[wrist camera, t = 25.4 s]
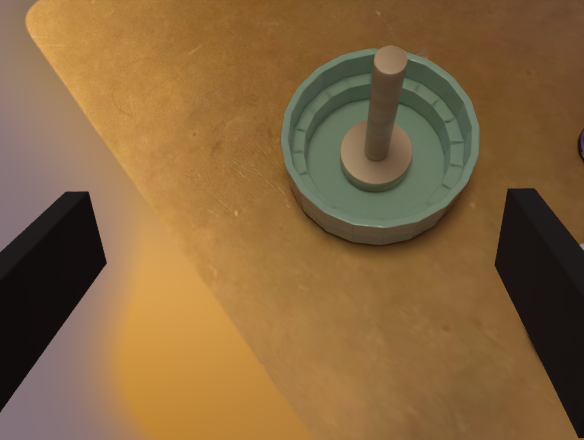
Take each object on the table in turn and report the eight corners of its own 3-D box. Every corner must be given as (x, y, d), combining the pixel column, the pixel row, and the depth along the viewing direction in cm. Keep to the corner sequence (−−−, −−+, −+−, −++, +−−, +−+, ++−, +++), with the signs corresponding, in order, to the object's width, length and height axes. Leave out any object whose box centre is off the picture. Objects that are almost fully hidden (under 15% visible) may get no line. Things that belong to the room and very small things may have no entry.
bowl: (342, 278, 43) (342, 263, 37) (259, 136, 47) (248, 104, 42) (497, 192, 44) (520, 164, 38) (401, 61, 48) (409, 18, 43)
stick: (362, 204, 44) (373, 121, 29) (327, 149, 46) (322, 45, 31) (423, 171, 44) (462, 73, 30) (386, 117, 46) (406, 1, 32)
